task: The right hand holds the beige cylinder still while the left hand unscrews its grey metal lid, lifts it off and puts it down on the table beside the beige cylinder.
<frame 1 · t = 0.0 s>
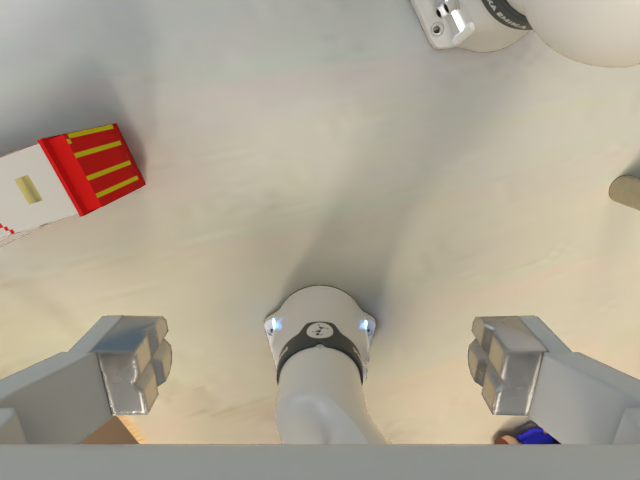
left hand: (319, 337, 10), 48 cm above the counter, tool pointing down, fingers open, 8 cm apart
beige cylinder: (623, 188, 58), on the counter
figurine character: (528, 432, 75), on the counter
toy: (49, 183, 58), on the counter
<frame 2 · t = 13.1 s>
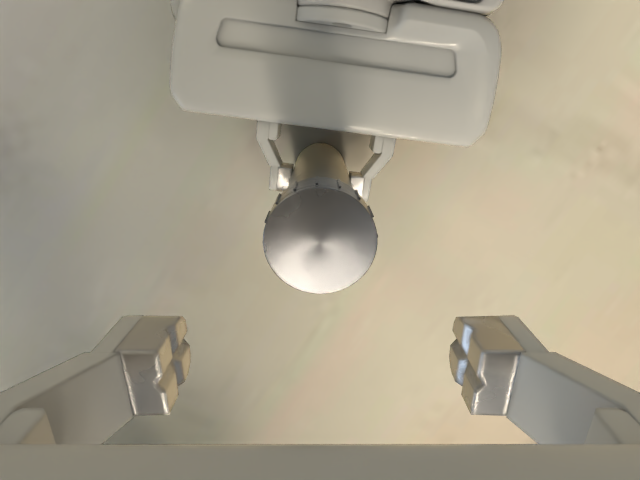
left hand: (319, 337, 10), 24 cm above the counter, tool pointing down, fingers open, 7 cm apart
beige cylinder: (320, 168, 32), on the counter, touching right hand
lid: (320, 240, 17), point 17 cm above the counter, screwed on, not yet turned
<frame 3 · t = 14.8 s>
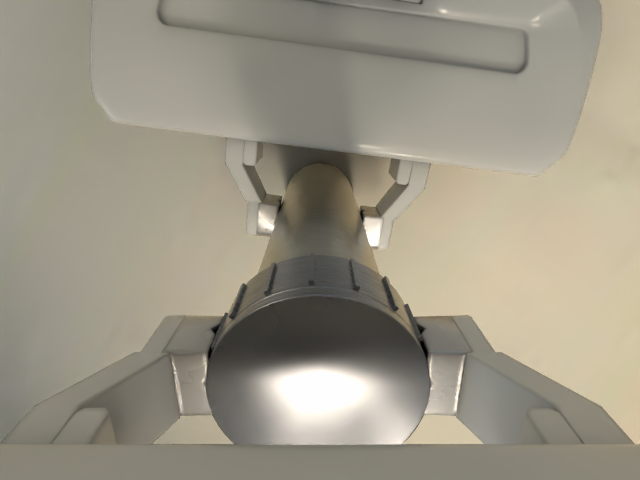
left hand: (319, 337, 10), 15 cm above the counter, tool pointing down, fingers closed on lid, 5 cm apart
beige cylinder: (319, 196, 24), on the counter, touching right hand
lid: (318, 382, 9), point 17 cm above the counter, screwed on, not yet turned, touching left hand
when the left hand's fingers open (15 cm above the counter, at t = 16.0 s): lid stays where it is, point 17 cm above the counter.
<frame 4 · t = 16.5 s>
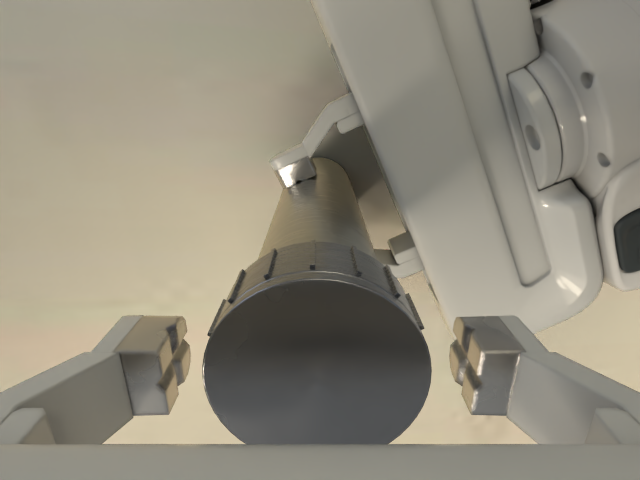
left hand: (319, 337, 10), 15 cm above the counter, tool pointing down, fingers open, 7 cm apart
beige cylinder: (318, 190, 24), on the counter, touching right hand
lid: (317, 370, 9), point 17 cm above the counter, turned 79° so far, risen 0.2 cm, still on its thread
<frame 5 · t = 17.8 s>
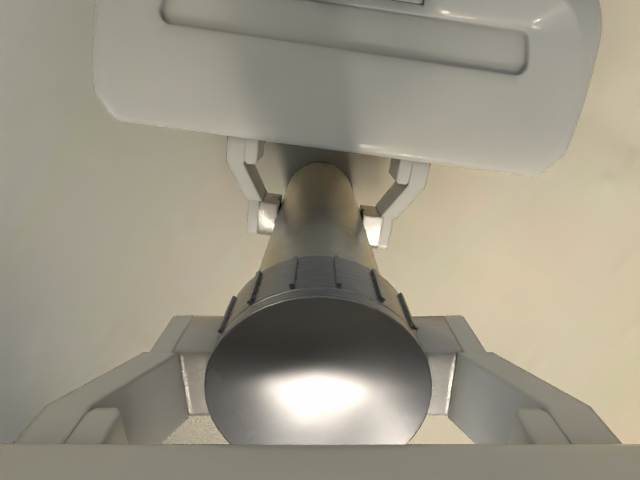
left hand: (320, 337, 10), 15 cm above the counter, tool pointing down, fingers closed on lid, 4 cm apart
beige cylinder: (319, 195, 24), on the counter, touching right hand
lid: (318, 385, 9), point 17 cm above the counter, turned 77° so far, risen 0.2 cm, still on its thread, touching left hand
when the left hand's fingers open (2 cm above the counter, at t = 24.1 s): lid drops 2 cm, point 2 cm above the counter.
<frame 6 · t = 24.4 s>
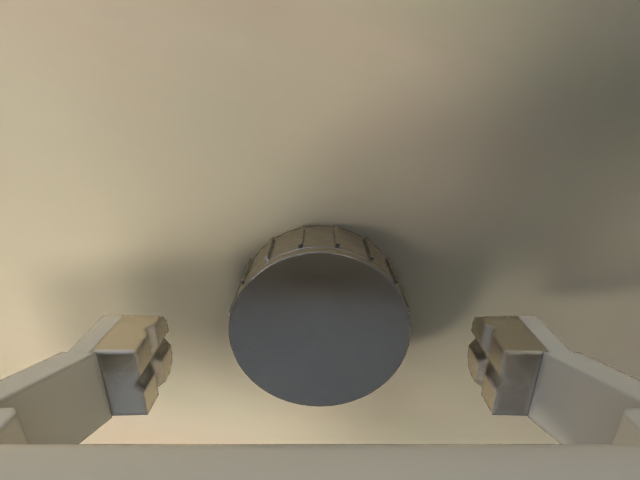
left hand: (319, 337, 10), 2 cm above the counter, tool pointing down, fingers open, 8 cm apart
lid: (319, 328, 11), point 2 cm above the counter, off its thread
when the right hand's fingers open (5 cm above the counter, at t = 25.1 s): beige cylinder stays where it is, on the counter.
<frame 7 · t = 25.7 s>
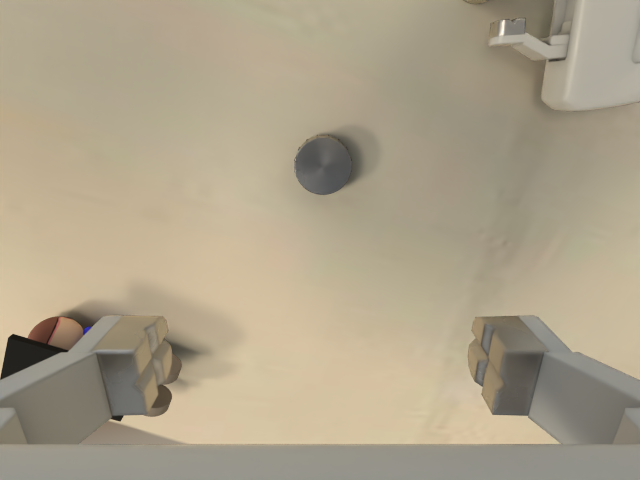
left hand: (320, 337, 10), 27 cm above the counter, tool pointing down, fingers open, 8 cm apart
figurine character: (119, 341, 42), on the counter
lid: (322, 166, 34), point 2 cm above the counter, off its thread
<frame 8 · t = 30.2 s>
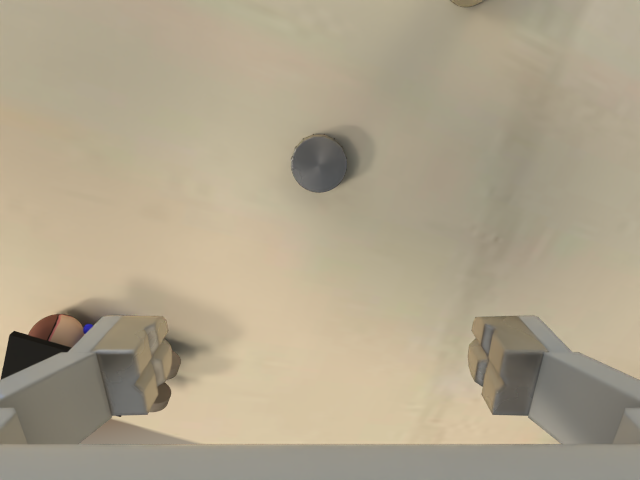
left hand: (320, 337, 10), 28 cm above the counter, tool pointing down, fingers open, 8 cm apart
figurine character: (119, 339, 43), on the counter
lid: (319, 164, 34), point 2 cm above the counter, off its thread
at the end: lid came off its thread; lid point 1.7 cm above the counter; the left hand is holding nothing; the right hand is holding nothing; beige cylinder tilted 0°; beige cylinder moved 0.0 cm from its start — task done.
